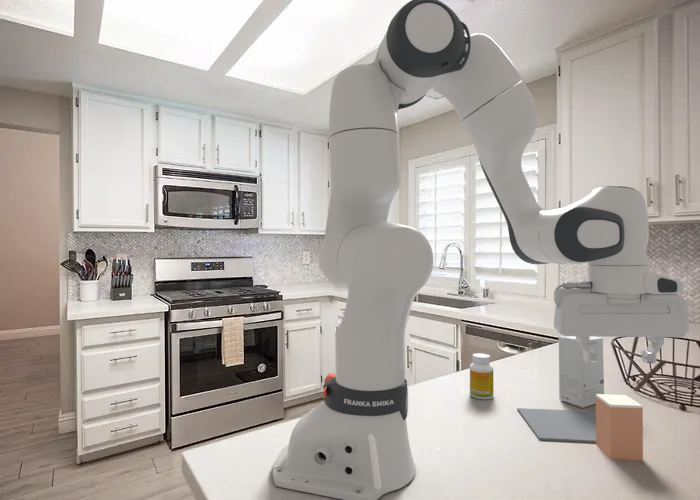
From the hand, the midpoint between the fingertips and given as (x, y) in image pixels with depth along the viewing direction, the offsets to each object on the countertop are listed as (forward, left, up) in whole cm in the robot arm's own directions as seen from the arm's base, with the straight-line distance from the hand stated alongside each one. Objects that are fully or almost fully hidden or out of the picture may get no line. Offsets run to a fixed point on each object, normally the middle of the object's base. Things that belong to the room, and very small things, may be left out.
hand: (619, 362), depth 70 cm
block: (0, 0, -16) cm, 16 cm away
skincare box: (+4, +24, -16) cm, 29 cm away
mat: (-5, +10, -15) cm, 19 cm away
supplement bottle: (-18, +25, -16) cm, 35 cm away
